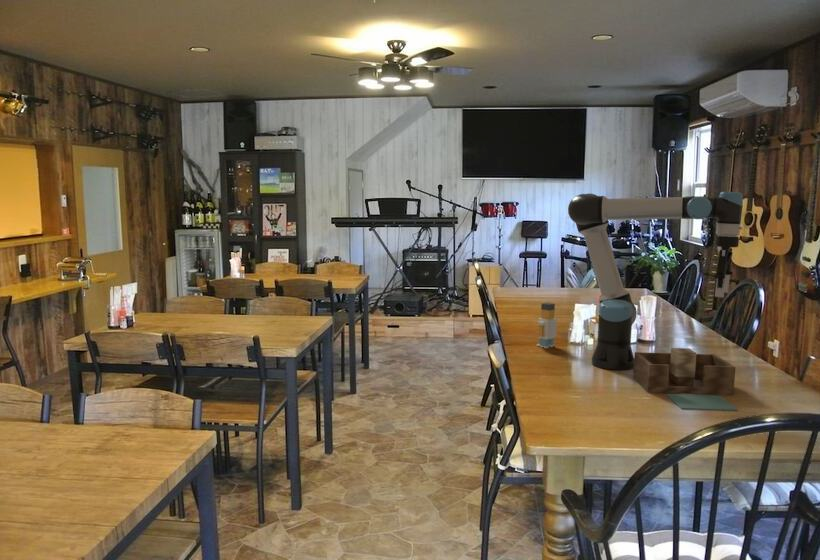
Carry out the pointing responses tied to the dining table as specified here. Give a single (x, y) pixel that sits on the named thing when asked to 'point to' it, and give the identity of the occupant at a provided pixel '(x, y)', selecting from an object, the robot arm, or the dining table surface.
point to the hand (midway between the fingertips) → (721, 294)
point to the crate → (709, 369)
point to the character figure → (547, 325)
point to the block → (682, 362)
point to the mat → (701, 402)
